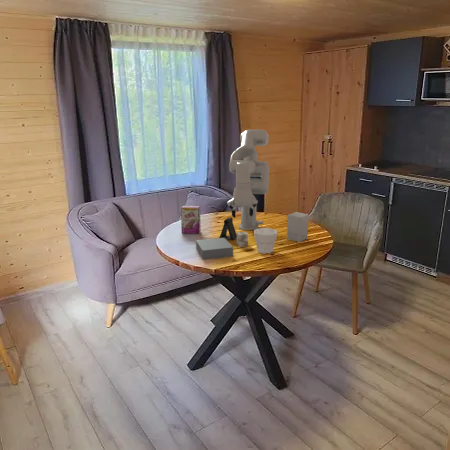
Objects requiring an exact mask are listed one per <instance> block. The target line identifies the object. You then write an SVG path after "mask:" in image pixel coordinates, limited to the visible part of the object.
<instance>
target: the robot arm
mask: <svg viewBox="0 0 450 450" xmlns="http://www.w3.org/2000/svg"><path fill="white" fill-rule="evenodd" d="M269 136H270V135H269V134H268V131H267V130H265V129H246V130H244V131H243V132H241V133H240V135H239V137H240V138H239V139H240V146H239V147H237V148H236V149H235V150H234V151H233V152H232V154H231V155H230V158H229V164H228V169H229V172H230V173H231V174H233V175H234V174H235V187H234V189H233V193H232V199H230V200H228V201H227V202H226V204H227V206H228V207H229V208H230V210H231V216H232V218H236V212H237V211H236V209H237V208H240V207H241V208H240V209H241V210H240V212H241V214H240V224H239V225H238V228H239V229H240V230H243V231H254V230H256V229H259V225H264V221H263V220H257V205H258V202H259V200H257V198H256V197H255V195H266V194H268V192H269V189H270V188H269V184H270V183H269V182H270V165H269V162H267V161H264V160H263V161H262V160H260V161H259V159H258V158H259V153H258V151H257V150H256V147H260V146H261V147H263V146H264V147H265V146H267V145H268V144H269V140H270V137H269ZM253 177H254V178H253ZM257 177H259V178H257Z"/></svg>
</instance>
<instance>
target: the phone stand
mask: <svg viewBox="0 0 450 450" xmlns="http://www.w3.org/2000/svg"><path fill="white" fill-rule="evenodd" d="M233 220H234V219H233V216H232V217H230V216H229V217H227V218H225V219H224V220H223V226H222V229H221V233H220V235H219V237H218V238H225V239H226V240H227V241H235V240H237V231H236V228H235V225H234V223H233ZM227 234H229V235H227Z"/></svg>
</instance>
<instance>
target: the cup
mask: <svg viewBox="0 0 450 450" xmlns="http://www.w3.org/2000/svg"><path fill="white" fill-rule="evenodd" d="M253 233H254V234H253V235H254V240H255V242H256V251H257V253H259V254H263V253H264V254H265V253H268V254H272V253H273V252H274V247H275V242H276V240H277V235H278V231H277V229H274V228H270V227H261V228H259V227H258V229H255V230H253ZM271 252H272V253H271ZM265 255H266V254H265Z"/></svg>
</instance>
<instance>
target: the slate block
mask: <svg viewBox="0 0 450 450" xmlns="http://www.w3.org/2000/svg"><path fill="white" fill-rule="evenodd" d="M229 242H230V241H229V240H227V239H225V238H219V237H217V238H208V239H207V238H206V239H197V240H195V249H196V251H197V253H198V254H199V256H200V258H201V259H202V260H211V259H221V258H231V257H233V256H234V247H233V246H232V244H231V243H229Z"/></svg>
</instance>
